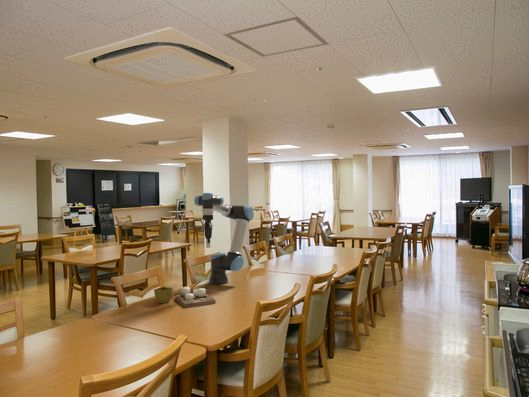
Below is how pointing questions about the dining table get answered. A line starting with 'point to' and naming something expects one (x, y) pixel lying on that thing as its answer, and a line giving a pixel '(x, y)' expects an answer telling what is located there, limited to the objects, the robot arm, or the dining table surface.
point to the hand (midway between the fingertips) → (208, 247)
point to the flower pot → (163, 294)
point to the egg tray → (195, 300)
